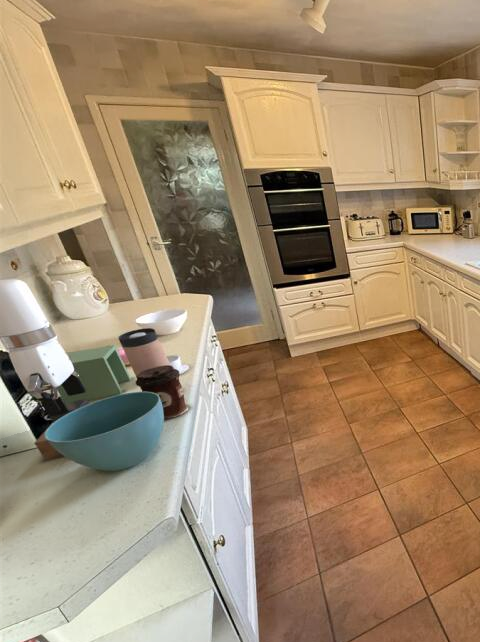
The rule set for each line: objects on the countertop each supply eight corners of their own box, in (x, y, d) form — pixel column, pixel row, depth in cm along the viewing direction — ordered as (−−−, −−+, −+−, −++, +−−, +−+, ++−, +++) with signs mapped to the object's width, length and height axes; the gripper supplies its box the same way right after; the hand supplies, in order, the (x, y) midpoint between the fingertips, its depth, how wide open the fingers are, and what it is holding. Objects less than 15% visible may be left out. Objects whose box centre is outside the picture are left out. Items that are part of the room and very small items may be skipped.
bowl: (154, 327, 165) (147, 311, 162) (198, 322, 169) (193, 306, 166) (133, 342, 151) (126, 325, 148) (182, 336, 155) (176, 320, 152)
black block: (59, 433, 91) (48, 415, 89) (68, 421, 95) (58, 404, 93) (88, 426, 93) (78, 408, 91) (96, 415, 97) (86, 398, 95)
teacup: (181, 363, 133) (176, 351, 131) (195, 370, 129) (190, 357, 127) (144, 376, 126) (138, 363, 124) (158, 384, 121) (152, 370, 119)
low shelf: (45, 460, 90) (34, 443, 88) (62, 438, 97) (52, 422, 95) (114, 443, 95) (104, 426, 93) (125, 423, 102) (117, 407, 100)
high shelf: (66, 405, 111) (44, 368, 106) (80, 389, 119) (60, 353, 114) (121, 393, 116) (103, 357, 111) (131, 378, 124) (114, 344, 119)
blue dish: (91, 500, 78) (61, 452, 74) (60, 470, 87) (31, 424, 82) (194, 447, 93) (174, 403, 88) (158, 425, 101) (139, 384, 96)
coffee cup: (175, 422, 102) (155, 379, 97) (144, 422, 102) (122, 379, 97) (200, 403, 110) (183, 362, 105) (171, 404, 110) (153, 363, 105)
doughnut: (150, 362, 135) (145, 351, 133) (108, 370, 130) (102, 359, 128) (159, 350, 143) (154, 340, 142) (120, 357, 139) (115, 346, 137)
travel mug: (141, 401, 112) (110, 337, 104) (169, 387, 119) (142, 326, 110) (160, 405, 110) (130, 340, 102) (187, 391, 116) (161, 329, 108)
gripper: (25, 327, 90) (63, 391, 97) (-21, 357, 76) (27, 428, 83) (69, 320, 93) (103, 382, 100) (32, 347, 79) (75, 417, 87)
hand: (69, 403), depth 92 cm, fingers open, 9 cm apart
